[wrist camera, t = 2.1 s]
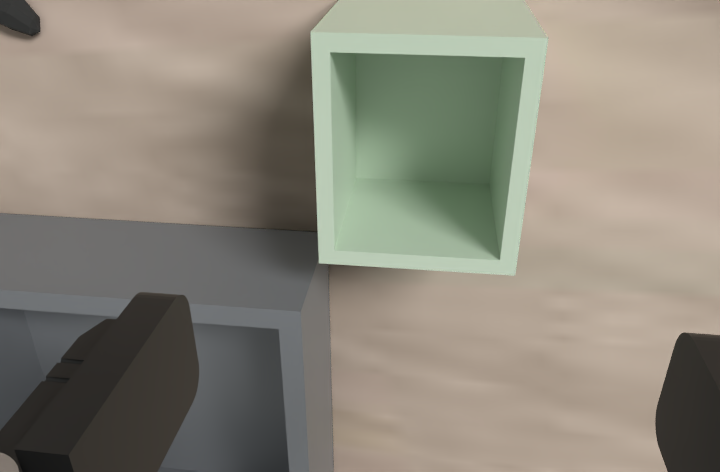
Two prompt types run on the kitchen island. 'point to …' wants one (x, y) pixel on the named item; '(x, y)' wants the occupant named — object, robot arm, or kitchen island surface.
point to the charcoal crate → (210, 325)
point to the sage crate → (425, 131)
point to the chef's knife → (19, 16)
